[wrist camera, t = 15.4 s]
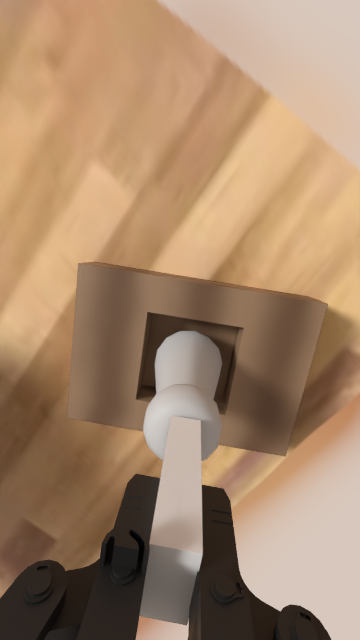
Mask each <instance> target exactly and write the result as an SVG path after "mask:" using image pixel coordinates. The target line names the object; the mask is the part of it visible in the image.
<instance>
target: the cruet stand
mask: <svg viewBox="0 0 360 640" xmlns="http://www.w3.org/2000/svg"><path fill="white" fill-rule="evenodd" d="M327 306H328V304H327V303H324V302H322V301H319V300H316V299H314V298H311V297H308V296H302V295H296V294H290V293H283V292H277V291H271V290H265V289H259V288H253V287H247V286H240V285H234V284H228V283H222V282H216V281H210V280H204V279H197V278H191V277H185V276H179V275H173V274H167V273H161V272H154V271H148V270H142V269H136V268H130V267H124V266H117V265H111V264H105V263H99V262H88V263H78V275H77V288H76V302H75V316H74V329H73V343H72V356H71V370H70V383H69V397H68V410H67V418H69V419H75V420H81V421H87V422H92V423H98V424H104V425H109V426H115V427H121V428H126V429H132V430H138V431H143V425H144V419H145V414H146V409H147V407H148V405H149V403H150V402H151V401H152V399H153V398H154V397H155V395H156V378H155V360H156V354H157V350H158V348H159V347H160V346H161V344H162V343H163V342H164V340H165V339H166V338H167V337H169V336H171V335H173V334H175V333H177V332H179V331H197V332H199V333H201V334H203V335H206V336H208V337H209V338H210V339H211V340H212V342H213V343H214V344H215V345H216V346H217V347H218V348H219V351H220V355H221V360H222V367H221V371H220V376H219V380H218V384H217V388H216V391H215V395H214V399H213V400H214V401H215V402H216V403H217V407H218V411H219V415H220V419H221V423H222V429H221V434H220V439H219V443H218V445H223V446H229V447H235V448H240V449H246V450H252V451H257V452H263V453H269V454H275V455H280V456H286V453H287V449H288V446H289V442H290V439H291V435H292V431H293V428H294V424H295V421H296V417H297V413H298V410H299V406H300V403H301V399H302V395H303V392H304V388H305V385H306V381H307V378H308V374H309V370H310V367H311V363H312V360H313V356H314V352H315V349H316V345H317V342H318V338H319V334H320V331H321V327H322V324H323V320H324V316H325V313H326V309H327Z"/></svg>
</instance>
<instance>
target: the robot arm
mask: <svg viewBox="0 0 360 640" xmlns="http://www.w3.org/2000/svg"><path fill="white" fill-rule="evenodd" d="M231 514H232V512H231V504H230V500H229V498H228V496H227V494H226V492H225V491H224V489H222V488H217V487H211V486H205V485H202V472H201V420H195V419H190V418H184V417H178V416H172V415H171V418H170V424H169V430H168V435H167V441H166V447H165V453H164V459H163V465H162V471H161V477H160V478H156V477H151V476H145V475H139V474H135V475H134V476H133V478H132V479H131V480H130V481H129V482H128V484H127V487H126V490H125V493H124V497H123V500H122V503H121V507H120V510H119V513H118V516H117V519H116V523H115V526H114V529H113V530H111V531H110V532H109V533H108V534H107V535H106V537H105V538H104V540H103V542H102V547H101V555H100V559H99V560H97V561H96V562H95V563H93V564H91V565H90V566H87V567H84V568H80V569H75V570H69V571H65V569H64V567H63V566H62V565H60V564H59V563H58V562H56V561H52V560H44V561H38V562H36V563H34V564H33V565H31V566H29V567H27V568H26V569H25V570H24V571H23V572H22V573H21V574H20V575H19V576H18V577H17V578H16V580H15V581H14V582H13V583H12V585H11V586H10V587H9V588H8V590H7V591H6V592H5V593H4V595H3V596H2V597H1V598H0V640H135V639H136V633H137V627H138V621H139V616H143V617H147V618H153V619H158V620H162V621H168V622H173V623H179V624H183V625H187V623H188V618H189V636H188V640H331V638H330V636H329V634H328V632H327V631H326V629H325V628H324V626H323V625H322V623H321V622H320V621H319V620H318V619H317V618H316V617H315V616H314V615H313V614H312V613H311V612H310V611H308V610H306V609H305V608H303V607H301V606H297V605H289V606H286V607H284V608H283V609H282V611H281V612H280V611H278V610H276V609H275V608H273V607H271V606H270V605H268V604H266V603H264V602H262V601H261V600H260V599H258V598H257V597H255V595H254V594H253V593H252V592H251V591H250V590H249V589H248V588H247V586H246V585H245V583H244V581H243V579H242V577H241V575H240V571H239V566H238V558H237V551H236V543H235V536H234V527H233V520H232V515H231Z"/></svg>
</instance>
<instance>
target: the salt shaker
mask: <svg viewBox="0 0 360 640" xmlns="http://www.w3.org/2000/svg"><path fill="white" fill-rule="evenodd" d="M221 367H222V360H221V355H220V351H219V348H218V347H217V346H216V345H215V344H214V343H213V342H212V340H211V339H210V338H209V337H208V336H206V335H203V334H201V333H199V332H197V331H179V332H177V333H175V334H173V335H171V336H169V337H167V338H166V339H165V340H164V342H163V343H162V344H161V346H160V347H159V348H158V350H157V354H156V360H155V378H156V395H155V397H154V398H153V399H152V401H151V402H150V403H149V405H148V407H147V409H146V414H145V419H144V425H143V433H144V436H145V439H146V442H147V445H148V447H149V448H150V449H151V450H152V451H153V452H154V454H155V455H156V456H157V457H158V458H159V459H161V460H163V459H164V453H165V447H166V441H167V435H168V430H169V424H170V418H171V415H172V416H178V417H184V418H190V419H195V420H201V461H203V460H205V459H207V458H208V457H209V456H210V455H211V454H212V453H213V452H214V451H215V449H216V448H217V447H218V443H219V439H220V434H221V429H222V423H221V419H220V415H219V411H218V407H217V403H216V402H215V401H214V400H213V399H214V395H215V391H216V388H217V384H218V380H219V376H220V371H221Z"/></svg>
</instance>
